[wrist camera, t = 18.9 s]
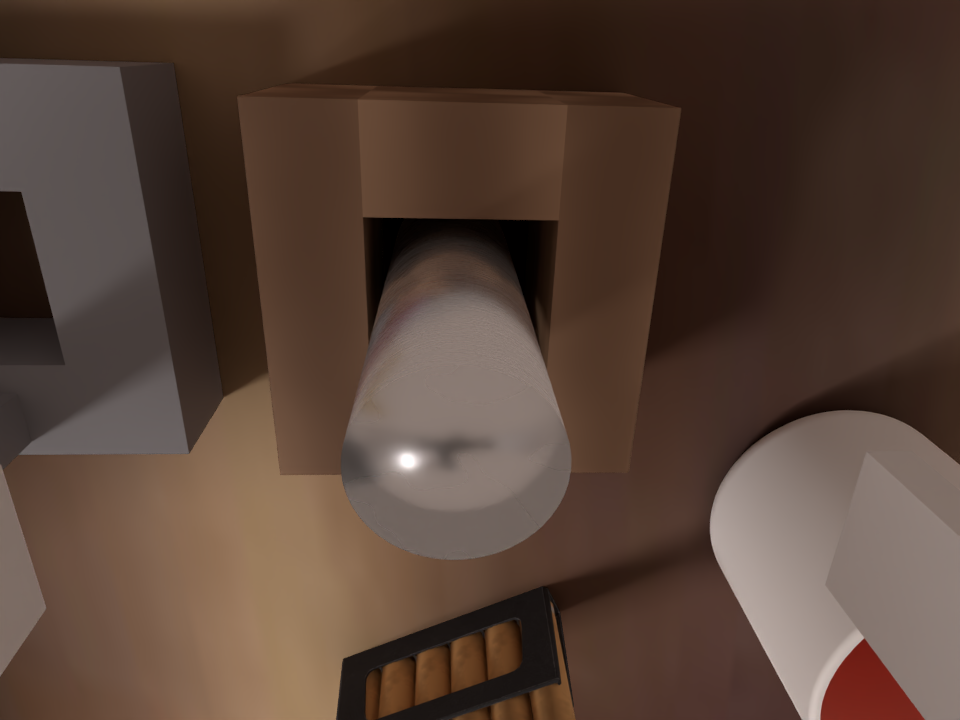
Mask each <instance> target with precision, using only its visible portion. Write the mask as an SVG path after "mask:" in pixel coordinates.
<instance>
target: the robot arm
mask: <svg viewBox="0 0 960 720" xmlns="http://www.w3.org/2000/svg"><path fill="white" fill-rule="evenodd" d="M825 586H826V587H827V588H828V590H829V591H830V592H831V594H832V595H833V596H834V598H835V599H836V600H837V602H838V603H839V605H840V606H841V607H842V609H843V610H844V611H845V613H846V614H847V615H848V617H849V618H850V619H851V621H852V622H853V623H854V625H855V626H856V627H857V629H858V630H859V631H860V633H861V634H862V636H863V637H864V638H865V640H866V641H867V642H868V644H869V645H870V646H871V648H872V649H873V650H874V652H875V653H876V654H877V656H878V657H879V658H880V660H881V661H882V662H883V664H884V665H885V667H886V668H887V669H888V671H889V672H890V673H891V675H892V676H893V677H894V679H895V680H896V681H897V683H898V684H899V685H900V687H901V688H902V689H903V691H904V692H905V693H906V695H907V696H908V698H909V699H910V700H911V702H912V703H913V704H914V706H915V707H916V708H917V710H918V711H919V712H920V714H921V715H922V716H923V718H924V719H925V720H960V490H959V489H957V488H956V487H955V486H954V485H953V484H951V483H950V482H949V481H948V480H947V479H945V478H944V477H943V476H942V475H941V474H939V473H938V472H937V471H936V470H935V469H933V468H932V467H931V466H930V465H929V464H927V463H926V462H925V461H924V460H923V459H921V458H920V457H919V456H918V455H916V454H915V453H914V452H913V451H871V452H866V455H865V458H864V461H863V465H862V468H861V471H860V474H859V477H858V481H857V484H856V487H855V490H854V493H853V497H852V500H851V503H850V506H849V509H848V513H847V516H846V519H845V522H844V525H843V529H842V532H841V535H840V538H839V541H838V545H837V548H836V551H835V554H834V557H833V561H832V564H831V567H830V570H829V573H828V577H827V580H826V583H825ZM45 610H46V606H45V602H44V599H43V596H42V593H41V590H40V587H39V583H38V580H37V577H36V574H35V571H34V568H33V564H32V561H31V558H30V555H29V552H28V549H27V545H26V542H25V539H24V536H23V533H22V530H21V526H20V523H19V520H18V517H17V514H16V510H15V507H14V504H13V501H12V498H11V495H10V491H9V488H8V485H7V482H6V479H5V476H4V472H3V469H2V466H1V464H0V676H1V674H2V673H3V672H4V670H5V669H6V667H7V666H8V664H9V663H10V661H11V660H12V658H13V657H14V655H15V654H16V652H17V651H18V649H19V648H20V647H21V645H22V644H23V642H24V641H25V639H26V638H27V636H28V635H29V633H30V632H31V630H32V629H33V627H34V626H35V624H36V623H37V622H38V620H39V619H40V617H41V616H42V614H43V613H44V611H45Z"/></svg>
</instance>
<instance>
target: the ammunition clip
mask: <svg viewBox="0 0 960 720" xmlns="http://www.w3.org/2000/svg"><path fill="white" fill-rule="evenodd" d="M529 694H530V696H529ZM573 707H574V703H573V697H572V690H571V683H570V676H569V669H568V663H567V656H566V649H565V642H564V635H563V628H562V622H561V615H560V611H559V609H558V607H557V605H556V603H555V601H554V600H553V598H552V596H551V594H550V592H549V590H548V588H545V587H543V586H542V587H539V588H537V589H534V590H531V591H528V592H526V593H523V594H520V595H517V596H515V597H512V598H509V599H506V600H504V601H501V602H498V603H495V604H493V605H490V606H487V607H484V608H482V609H479V610H476V611H473V612H471V613H468V614H465V615H462V616H460V617H457V618H454V619H451V620H449V621H446V622H443V623H440V624H438V625H435V626H432V627H429V628H427V629H424V630H421V631H419V632H416V633H413V634H410V635H408V636H405V637H402V638H399V639H397V640H394V641H391V642H388V643H386V644H383V645H380V646H377V647H375V648H372V649H369V650H366V651H364V652H361V653H358V654H355V655H353V656H350V657H347V658H344V659H343V662H342V671H341V680H340V689H339V699H338V708H337V717H336V720H575V715H574V710H573Z"/></svg>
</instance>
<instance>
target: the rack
mask: <svg viewBox="0 0 960 720" xmlns="http://www.w3.org/2000/svg"><path fill="white" fill-rule="evenodd" d="M237 101H238V110H239V119H240V127H241V136H242V145H243V154H244V162H245V171H246V180H247V189H248V197H249V206H250V215H251V223H252V232H253V241H254V250H255V258H256V267H257V276H258V284H259V293H260V302H261V311H262V319H263V328H264V337H265V346H266V354H267V363H268V372H269V380H270V389H271V398H272V407H273V415H274V424H275V433H276V442H277V450H278V459H279V468H280V475H340V474H341V454H342V448H343V443H344V439H345V435H346V431H347V427H348V423H349V419H350V415H351V412H352V408H353V404H354V400H355V396H356V392H357V388H358V385H359V381H360V377H361V373H362V369H363V365H364V361H365V358H366V354H367V350H368V346H369V342H370V338H371V334H372V331H373V327H374V323H375V319H376V315H377V311H378V307H379V303H380V300H381V296H382V292H383V288H384V260H383V229H382V218H439V219H501V220H529V226H528V243H527V259H526V276H525V293H524V299H525V303H526V306H527V309H528V312H529V315H530V319H531V322H532V325H533V328H534V331H535V334H536V338H537V341H538V344H539V347H540V350H541V353H542V357H543V360H544V363H545V366H546V369H547V373H548V376H549V379H550V382H551V385H552V388H553V392H554V395H555V398H556V401H557V404H558V407H559V411H560V414H561V417H562V420H563V423H564V427H565V430H566V433H567V436H568V440H569V443H570V450H571V473H629V466H630V459H631V452H632V445H633V438H634V432H635V425H636V418H637V411H638V404H639V397H640V390H641V383H642V377H643V370H644V363H645V356H646V349H647V342H648V335H649V328H650V322H651V315H652V308H653V301H654V294H655V287H656V280H657V273H658V267H659V260H660V253H661V246H662V239H663V232H664V225H665V218H666V212H667V205H668V198H669V191H670V184H671V177H672V170H673V163H674V157H675V150H676V143H677V136H678V129H679V122H680V115H681V108H679V107H675V106H672V105H668V104H664V103H660V102H657V101H653V100H649V99H645V98H641V97H638V96H634V95H630V94H626V93H618V92H583V91H547V90H511V89H475V88H440V87H404V86H368V85H332V84H297V83H286V84H282V85H279V86H275V87H271V88H267V89H263V90H259V91H255V92H252V93H248V94H244V95H240V96H237Z"/></svg>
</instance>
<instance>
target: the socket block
mask: <svg viewBox="0 0 960 720" xmlns="http://www.w3.org/2000/svg"><path fill="white" fill-rule="evenodd" d="M0 191H18V192H21V193H22V197H23V201H24V204H25V208H26V212H27V216H28V220H29V224H30V228H31V232H32V236H33V240H34V244H35V248H36V252H37V256H38V259H39V263H40V267H41V271H42V275H43V279H44V283H45V287H46V291H47V295H48V299H49V303H50V307H51V311H52V314H53V318H0V464H1V466H2V469H4V468H5V467H6V466H7V465H8V464H9V463H10V462H11V461H12V460H13V459H14V458H15V457H17V456H18V455H58V454H189V453H190V452H191V450H192V448H193V447H194V445H195V443H196V442H197V440H198V438H199V437H200V435H201V434H202V432H203V430H204V429H205V427H206V425H207V424H208V422H209V420H210V419H211V417H212V416H213V414H214V412H215V411H216V409H217V407H218V406H219V404H220V402H221V401H222V399H223V392H222V385H221V379H220V372H219V365H218V359H217V352H216V345H215V338H214V332H213V325H212V318H211V311H210V305H209V298H208V291H207V285H206V278H205V271H204V264H203V258H202V251H201V244H200V237H199V231H198V224H197V217H196V211H195V204H194V197H193V190H192V184H191V177H190V170H189V163H188V157H187V150H186V143H185V137H184V130H183V123H182V116H181V110H180V103H179V96H178V89H177V83H176V76H175V69H174V63H155V62H121V61H87V60H53V59H19V58H0Z"/></svg>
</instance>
